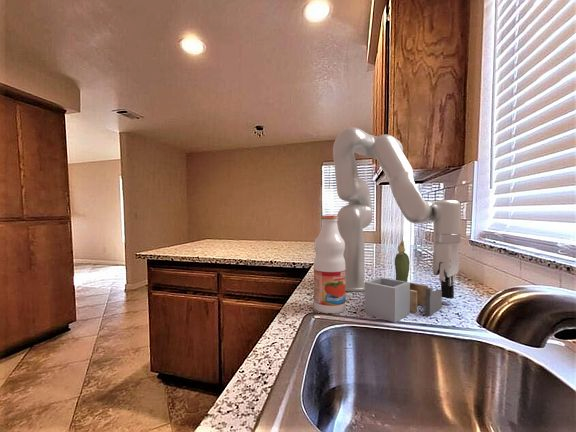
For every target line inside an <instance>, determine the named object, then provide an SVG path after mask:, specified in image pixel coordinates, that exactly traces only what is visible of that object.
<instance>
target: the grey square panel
mask: <svg viewBox="0 0 576 432" xmlns="http://www.w3.org/2000/svg"><path fill="white" fill-rule="evenodd" d="M433 289H434V288H432V287H429V286H428V288H426V296H425V307H424V310H425V311H424V312H425V313H424V314H425V316H427V317H431V316H433V315H434V314H436V313H437V312H438V311H440V310H441V309H442V307H443V305H442V303H443V297H442V290H441V289H439V288H438V289H436V290H433Z"/></svg>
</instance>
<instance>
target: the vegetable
mask: <svg viewBox="0 0 576 432" xmlns="http://www.w3.org/2000/svg"><path fill="white" fill-rule="evenodd" d="M397 251H398V253H397V254H396V255H395V257H394V267H395V280H399V281H405V282H408V279H409V272H410V262H411V261H410V257H409V255H408V254H407V253H406V248H405V241H404V240H401V241H400V244H398V247H397Z"/></svg>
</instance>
